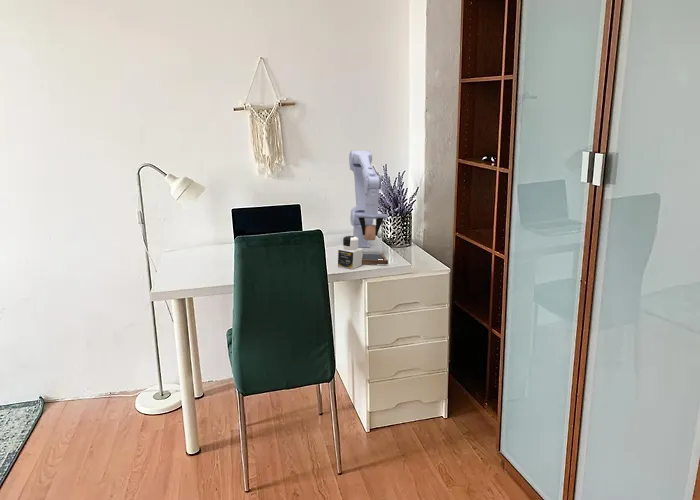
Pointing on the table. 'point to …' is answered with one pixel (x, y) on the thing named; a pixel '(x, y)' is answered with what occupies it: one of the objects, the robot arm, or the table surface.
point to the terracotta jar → (370, 232)
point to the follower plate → (371, 256)
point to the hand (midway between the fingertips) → (369, 235)
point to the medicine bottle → (350, 253)
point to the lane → (375, 261)
